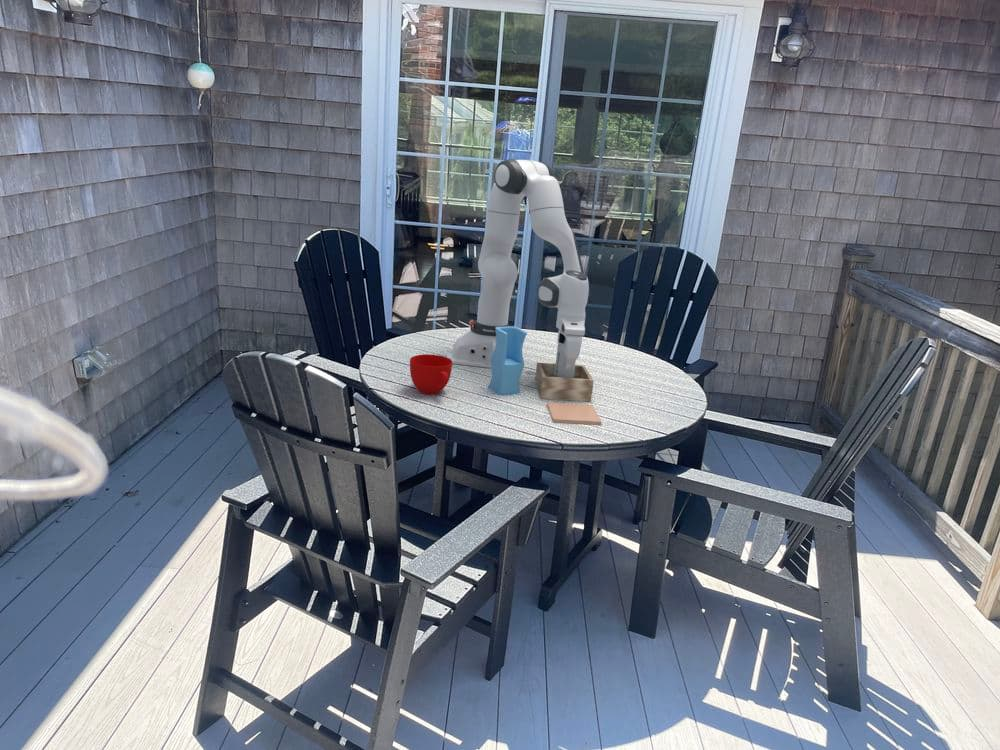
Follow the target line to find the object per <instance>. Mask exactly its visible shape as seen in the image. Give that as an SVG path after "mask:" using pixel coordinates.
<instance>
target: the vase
mask: <svg viewBox="0 0 1000 750" xmlns="http://www.w3.org/2000/svg"><path fill="white" fill-rule="evenodd" d="M495 329H496V347H495V350H494V352H493V354H492V356H491V360H490V361H491V368H490V369H491V377H490V381H489V384H488V385H487V386H488V388H489V389H490V390H492V391H493V392H494V393H495V394H497V395H501V396H504V395H505V396H507V395H516V394H520V380H521V376H522V373H523V370H524V368H525V361H524V356H523V347H524V342H525V339H526V337H527V335H528V332H527V331H526V330H524V329H521V328H520V327H518V326H515V325H514V326H513V325H512V326H510V325H509V327H496V328H495Z"/></svg>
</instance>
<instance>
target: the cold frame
mask: <svg viewBox="0 0 1000 750" xmlns="http://www.w3.org/2000/svg"><path fill="white" fill-rule="evenodd" d="M555 365H556V363H553V362H551V363H550V362H549V363H548V362H538V361H537V362H536V367H535V377H534V384H535V387H536V390H537V392H538V394H539V397H540V400H541V399H543V400H544V399H545V400H560V401H561V400H562V401H574V402H575V401H577V402H592V397H593V389H594V382H595V380H594V379H593V377H592V375H591V374H590V373H589V371H588V369H587V368H586V366H585V365H584V364H583V365H582V364H575V370H574V378H560V377H554V373H555Z"/></svg>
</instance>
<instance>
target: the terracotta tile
mask: <svg viewBox="0 0 1000 750" xmlns="http://www.w3.org/2000/svg"><path fill="white" fill-rule="evenodd" d="M546 407H547V410H548V412H549V414H550V417H551V419H552V422H553V423H558V424H560V423H562V424H574V425H575V424H577V425H596V426H602V423H603V422H602V420H601V418H600V416H599V414H598V413H597V412H596V410H595V407H594V405H592V404H581V403H579V404H578V403H565V402H564V403H562V402H546Z"/></svg>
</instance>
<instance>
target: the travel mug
mask: <svg viewBox="0 0 1000 750" xmlns="http://www.w3.org/2000/svg"><path fill="white" fill-rule="evenodd" d="M564 341H565V336H564V335H563V334H561V333H559V341H558V342H557V349H556V350H557V351H556V357H555V364H556V365H555V373H554V377H560V378H574V370H575V365H576V362H577V361H576V360H577V359H576V360H575V359H573V361H572V363H571V368H570V369H565V367H564V366H565V361H566V356H565V355H564V353H563V347H564Z"/></svg>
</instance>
